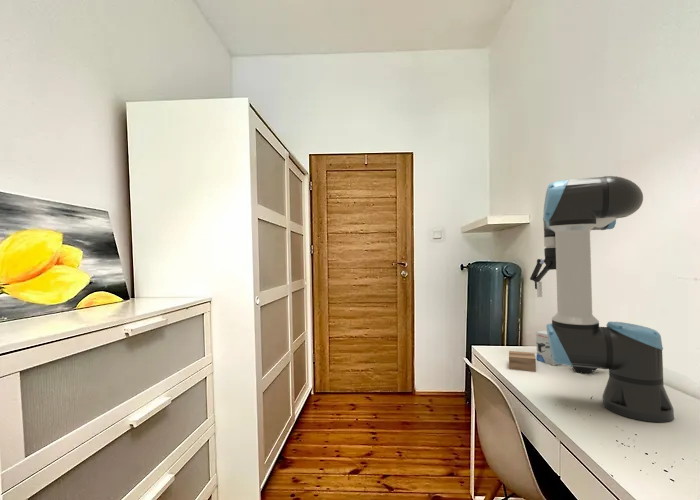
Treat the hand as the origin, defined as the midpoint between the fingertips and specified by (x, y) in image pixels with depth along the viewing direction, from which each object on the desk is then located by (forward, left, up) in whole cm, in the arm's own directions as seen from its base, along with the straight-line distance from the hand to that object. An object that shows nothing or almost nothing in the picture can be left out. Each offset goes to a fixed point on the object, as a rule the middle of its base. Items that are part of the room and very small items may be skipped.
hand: (556, 298), depth 146 cm
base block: (-17, +13, -25) cm, 33 cm away
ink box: (-6, +3, -25) cm, 26 cm away
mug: (-14, -9, -25) cm, 30 cm away
